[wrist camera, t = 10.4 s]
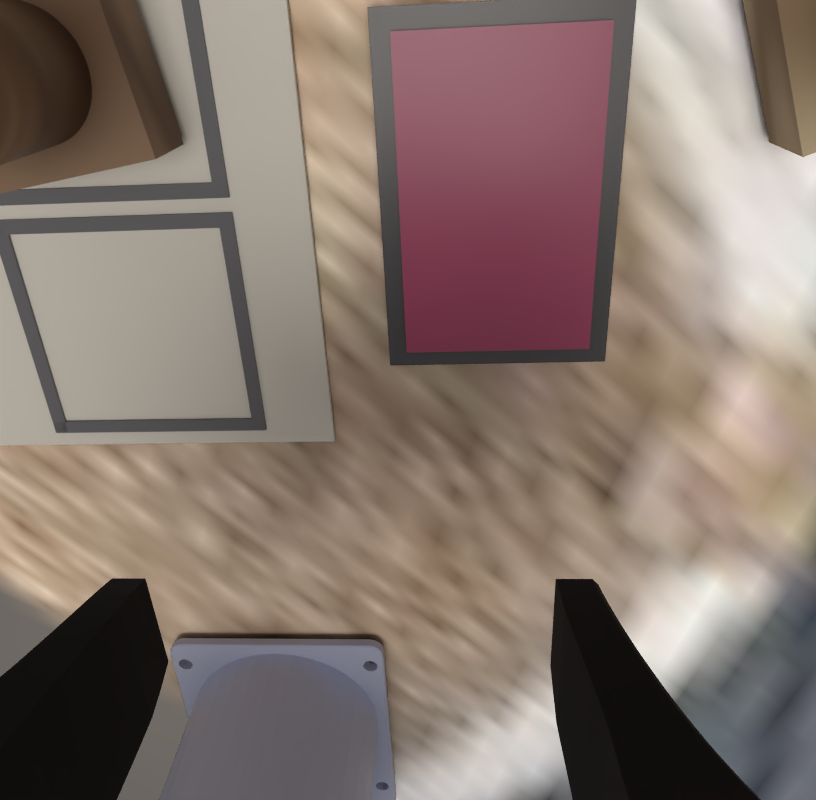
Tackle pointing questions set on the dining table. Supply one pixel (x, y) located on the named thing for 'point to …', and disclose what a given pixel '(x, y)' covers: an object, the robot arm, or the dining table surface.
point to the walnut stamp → (78, 91)
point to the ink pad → (499, 175)
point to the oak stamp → (786, 69)
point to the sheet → (176, 262)
